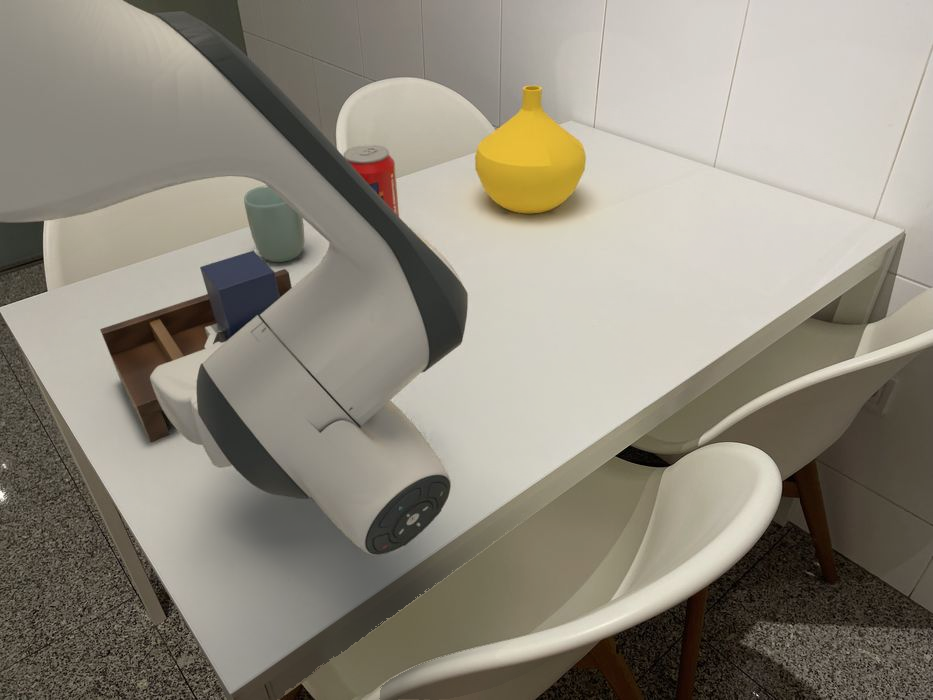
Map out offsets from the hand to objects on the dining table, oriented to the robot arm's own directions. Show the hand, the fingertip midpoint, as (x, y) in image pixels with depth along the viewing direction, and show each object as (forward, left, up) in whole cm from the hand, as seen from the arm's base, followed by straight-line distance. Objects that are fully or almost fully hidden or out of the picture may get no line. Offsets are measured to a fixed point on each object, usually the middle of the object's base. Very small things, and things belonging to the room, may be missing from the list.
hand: (246, 319), depth 65 cm
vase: (+59, +29, -15) cm, 67 cm away
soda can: (+30, +31, -15) cm, 46 cm away
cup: (+17, +37, -15) cm, 44 cm away
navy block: (0, -1, -7) cm, 7 cm away
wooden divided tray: (0, +13, -15) cm, 20 cm away
